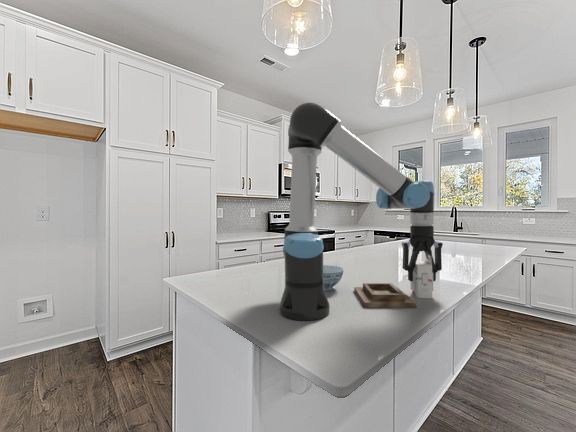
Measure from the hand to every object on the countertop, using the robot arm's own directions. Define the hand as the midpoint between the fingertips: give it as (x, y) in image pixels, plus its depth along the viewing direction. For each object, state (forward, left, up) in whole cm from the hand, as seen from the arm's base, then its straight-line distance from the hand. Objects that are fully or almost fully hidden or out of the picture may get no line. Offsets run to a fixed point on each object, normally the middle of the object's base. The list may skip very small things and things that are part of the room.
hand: (421, 289), depth 103 cm
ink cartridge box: (0, 0, -2) cm, 2 cm away
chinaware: (-34, +9, -2) cm, 35 cm away
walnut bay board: (-15, -4, -2) cm, 16 cm away
